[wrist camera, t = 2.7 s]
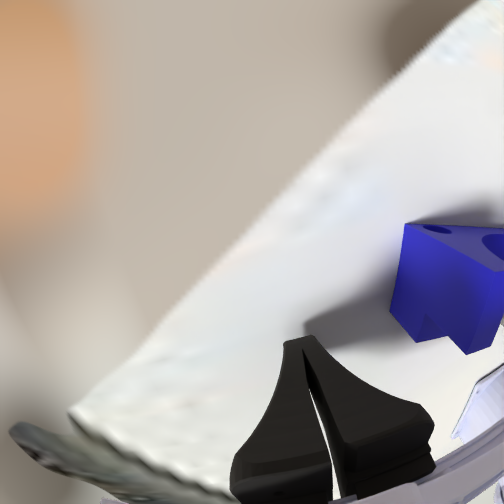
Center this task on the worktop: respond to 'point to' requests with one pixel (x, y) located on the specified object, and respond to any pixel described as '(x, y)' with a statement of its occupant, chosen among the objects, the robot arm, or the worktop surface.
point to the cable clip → (450, 284)
